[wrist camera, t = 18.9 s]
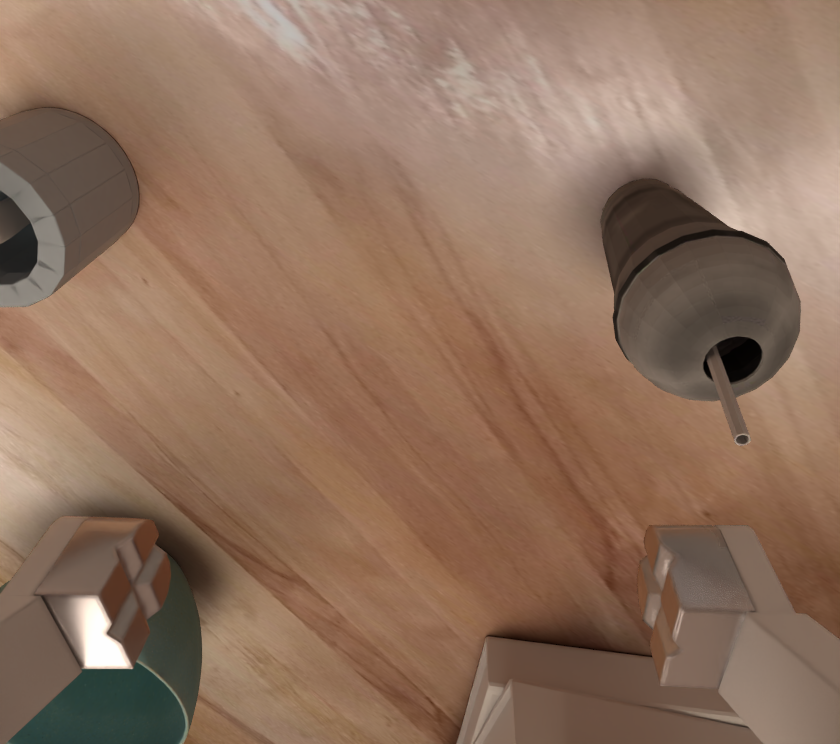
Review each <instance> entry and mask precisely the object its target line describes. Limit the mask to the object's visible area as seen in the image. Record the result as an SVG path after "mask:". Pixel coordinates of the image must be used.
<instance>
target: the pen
mask: <svg viewBox="0 0 840 744" xmlns="http://www.w3.org/2000/svg"><path fill="white" fill-rule="evenodd" d="M30 223H31V222H30V220H29V219H28V218H27V217H26V215H25V214H24V213H23V212H22V210H21V209H20V208H19V207H18V205H17V204H16V203H15V202H14V200H13V199H12V198H10V197H9V198H7V199H4V200H2V201H0V244H1V243H3V242H5V241H6V240H8V239H10V238H11V237H13V236H14V235H15V234H17V233H18V232H19V231H21V230H22V229H23V228H24V227H26V226H27V225H28V224H30Z"/></svg>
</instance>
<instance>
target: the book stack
mask: <svg viewBox="0 0 840 744" xmlns="http://www.w3.org/2000/svg"><path fill="white" fill-rule="evenodd" d="M718 690H719V689H708V688H691V687H674V686H660V683H659V679H658V675H657V672H656V668H655V664H654V661H653V657H645V656H638V655H630V654H622V653H614V652H606V651H599V650H591V649H583V648H575V647H567V646H560V645H552V644H544V643H536V642H528V641H521V640H513V639H505V638H497V637H489V636H488V637H486V639H485V642H484V646H483V650H482V653H481V657H480V661H479V664H478V668H477V672H476V675H475V679H474V683H473V686H472V690H471V694H470V698H469V701H468V705H467V709H466V712H465V716H464V720H463V723H462V727H461V730H460V734H459V737H458V741H457V744H763V743H762V742H761V741H760V739H759V738H758V737H757V736H756V735H755V734H754V733H753V731H752V730H751V729H750V728H749V727H748V726H747V725H746V724H745V722H744V721H743V720H742V719H741V718H740V717H739V716H738V714H737V713H736V712H735V711H734V710H733V709H732V708H731V706H730V705H729V704H728V703H727V702H726V701H725V700H724V698H723V697H722V696H721V695H720V694H719V693H718Z"/></svg>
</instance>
